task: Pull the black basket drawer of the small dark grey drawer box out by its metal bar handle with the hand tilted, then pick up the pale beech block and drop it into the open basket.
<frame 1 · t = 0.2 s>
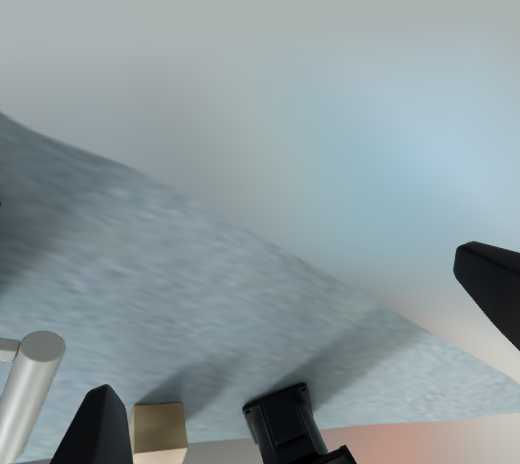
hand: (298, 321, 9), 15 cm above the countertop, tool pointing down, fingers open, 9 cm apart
block: (154, 419, 31), on the countertop
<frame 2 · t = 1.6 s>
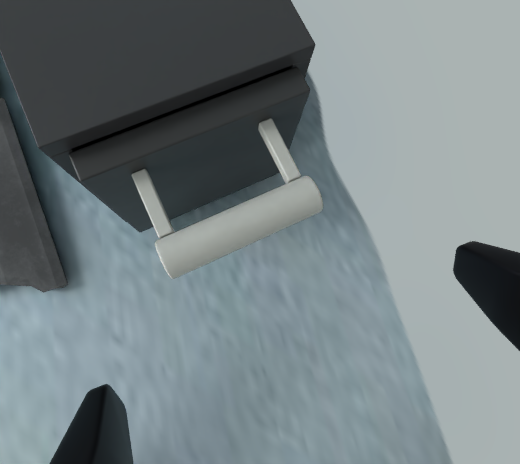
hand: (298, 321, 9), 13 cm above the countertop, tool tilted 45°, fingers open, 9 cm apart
dark grey drawer box: (167, 107, 24), on the countertop
basket: (179, 115, 18), point 5 cm above the countertop, slide at 0.0 cm
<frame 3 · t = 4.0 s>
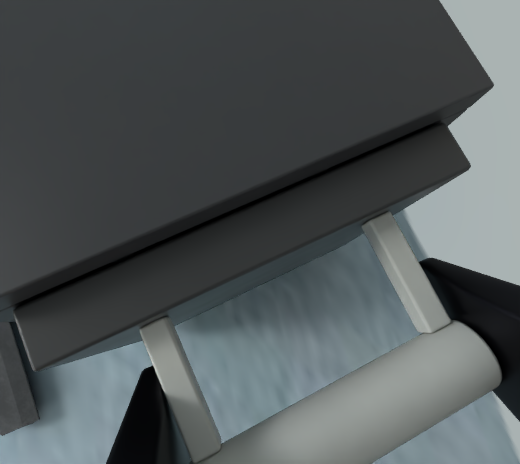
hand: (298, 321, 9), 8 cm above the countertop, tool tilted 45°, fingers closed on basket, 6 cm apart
dark grey drawer box: (183, 149, 18), on the countertop
basket: (212, 180, 12), point 5 cm above the countertop, slide at 0.0 cm, touching dark grey drawer box, gripper
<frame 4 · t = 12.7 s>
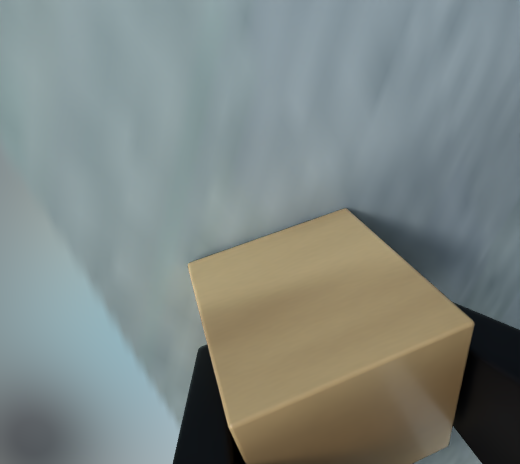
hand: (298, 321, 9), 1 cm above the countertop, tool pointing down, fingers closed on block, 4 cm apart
block: (282, 294, 10), on the countertop, touching gripper
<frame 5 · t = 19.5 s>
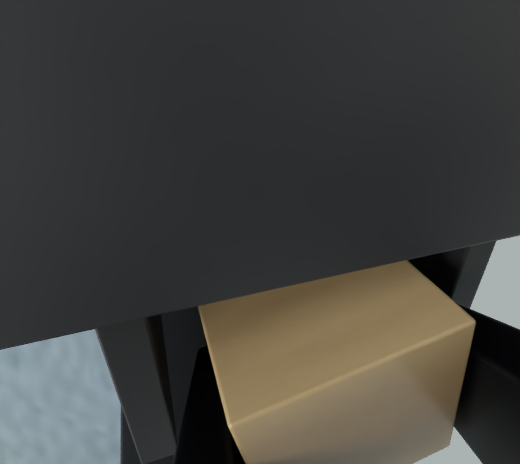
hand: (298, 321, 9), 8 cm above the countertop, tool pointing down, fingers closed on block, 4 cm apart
block: (282, 293, 10), point 7 cm above the countertop, touching gripper
basket: (259, 274, 12), point 5 cm above the countertop, slide at 6.4 cm
when the fingers open (11 cm above the countertop, at t = 29.1 s): block drops 8 cm, resting on basket.
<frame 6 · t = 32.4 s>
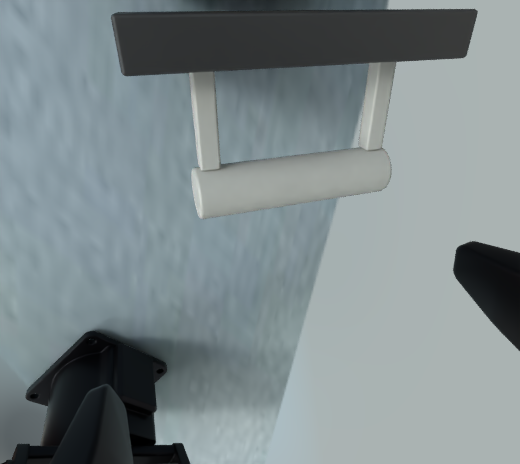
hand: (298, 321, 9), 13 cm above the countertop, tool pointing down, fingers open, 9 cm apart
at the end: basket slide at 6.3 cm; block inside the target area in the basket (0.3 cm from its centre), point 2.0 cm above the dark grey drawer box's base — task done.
